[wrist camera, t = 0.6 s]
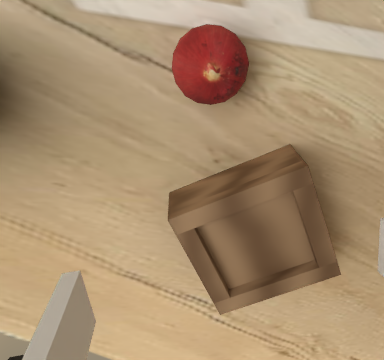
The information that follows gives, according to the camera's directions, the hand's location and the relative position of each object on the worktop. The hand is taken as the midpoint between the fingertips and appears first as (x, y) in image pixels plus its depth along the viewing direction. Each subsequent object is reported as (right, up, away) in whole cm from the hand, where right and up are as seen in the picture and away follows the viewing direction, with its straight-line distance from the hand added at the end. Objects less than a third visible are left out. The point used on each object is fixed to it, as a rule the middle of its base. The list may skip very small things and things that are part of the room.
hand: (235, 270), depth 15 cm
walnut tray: (+4, 0, +22) cm, 22 cm away
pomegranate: (-1, +14, +15) cm, 21 cm away
